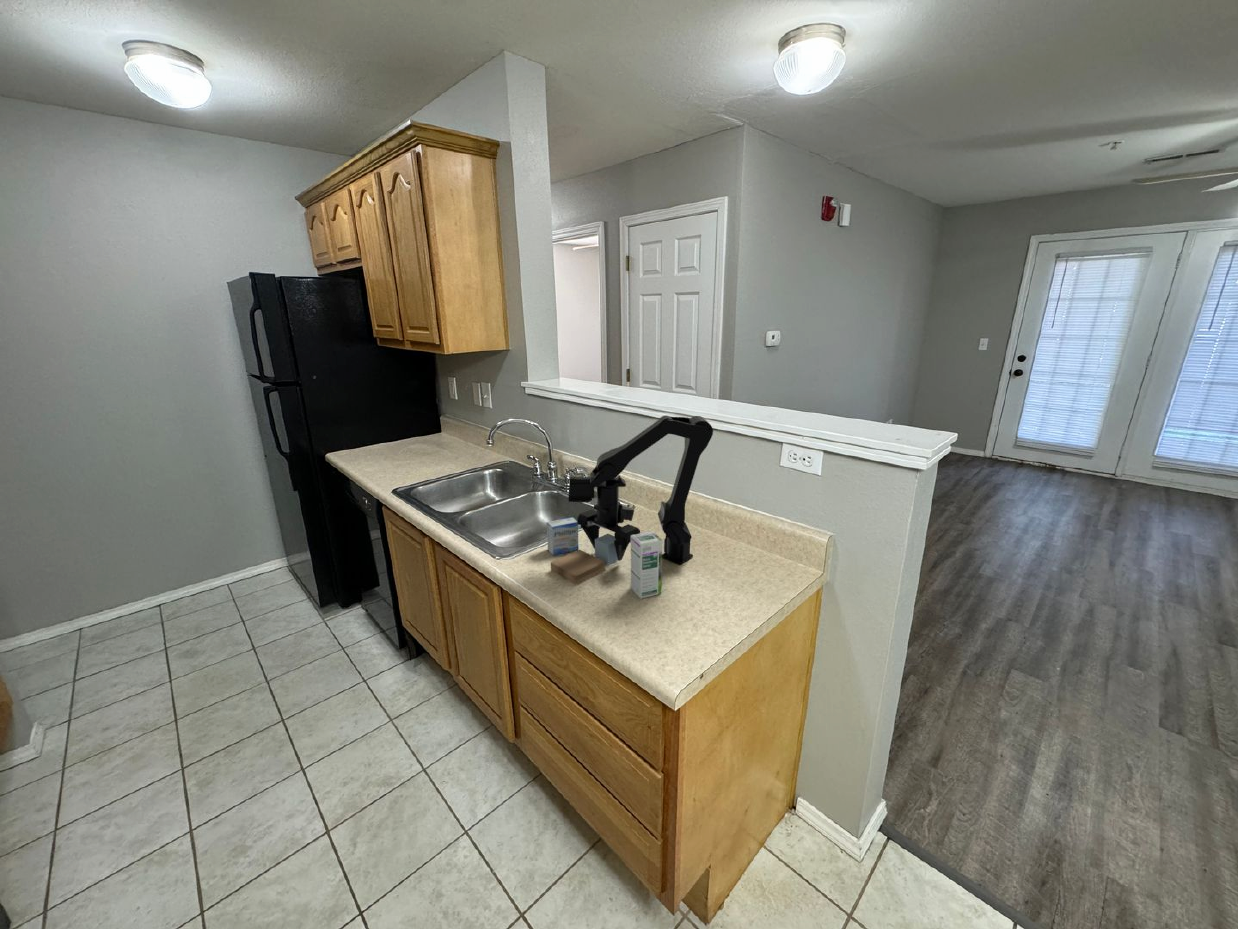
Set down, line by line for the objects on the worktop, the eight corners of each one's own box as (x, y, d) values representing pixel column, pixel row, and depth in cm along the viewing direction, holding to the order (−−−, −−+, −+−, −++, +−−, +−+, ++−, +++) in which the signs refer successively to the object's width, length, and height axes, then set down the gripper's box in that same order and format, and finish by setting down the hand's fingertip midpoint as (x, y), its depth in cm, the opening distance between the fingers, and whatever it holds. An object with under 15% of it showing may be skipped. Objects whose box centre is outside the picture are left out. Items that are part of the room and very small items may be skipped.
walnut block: (605, 571, 132) (605, 561, 131) (576, 586, 125) (576, 576, 124) (579, 559, 138) (579, 549, 137) (551, 572, 131) (550, 562, 130)
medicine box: (552, 556, 139) (551, 527, 136) (547, 549, 143) (546, 521, 140) (579, 549, 143) (578, 521, 140) (573, 543, 146) (572, 516, 144)
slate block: (620, 559, 138) (620, 539, 136) (607, 565, 134) (607, 545, 132) (607, 553, 141) (607, 533, 139) (595, 559, 138) (594, 539, 136)
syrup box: (640, 599, 119) (641, 544, 114) (629, 587, 124) (630, 533, 119) (661, 594, 121) (663, 539, 116) (650, 582, 126) (651, 529, 122)
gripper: (654, 502, 132) (653, 555, 137) (604, 485, 144) (605, 534, 149) (625, 514, 124) (625, 570, 129) (575, 495, 136) (576, 547, 141)
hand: (607, 554), depth 137 cm, fingers open, 9 cm apart
